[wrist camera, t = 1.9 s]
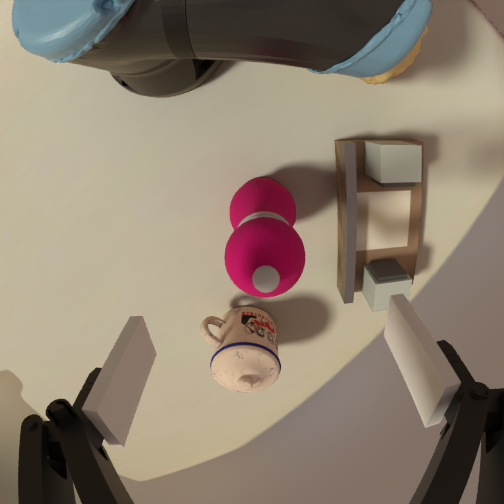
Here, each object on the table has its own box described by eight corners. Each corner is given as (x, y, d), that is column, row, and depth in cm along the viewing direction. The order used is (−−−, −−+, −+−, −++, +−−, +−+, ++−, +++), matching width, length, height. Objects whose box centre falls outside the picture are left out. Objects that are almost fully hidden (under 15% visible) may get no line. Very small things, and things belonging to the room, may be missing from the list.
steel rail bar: (338, 141, 32) (344, 143, 30) (348, 141, 32) (355, 142, 30) (340, 293, 40) (344, 303, 38) (348, 292, 40) (353, 302, 38)
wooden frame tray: (334, 140, 34) (339, 141, 32) (415, 140, 33) (423, 142, 31) (337, 286, 42) (340, 294, 40) (407, 277, 41) (412, 284, 40)
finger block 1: (364, 140, 32) (380, 144, 27) (401, 141, 32) (421, 145, 27) (365, 179, 34) (380, 188, 29) (402, 178, 33) (421, 187, 29)
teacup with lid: (290, 325, 45) (297, 383, 34) (251, 358, 48) (249, 415, 37) (226, 281, 42) (216, 335, 31) (190, 320, 45) (173, 375, 34)
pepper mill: (302, 191, 37) (345, 265, 18) (273, 239, 39) (285, 344, 21) (250, 162, 35) (241, 209, 17) (222, 213, 38) (191, 303, 20)
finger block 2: (363, 261, 38) (376, 280, 34) (397, 257, 38) (412, 275, 33) (361, 291, 40) (372, 312, 35) (394, 287, 40) (407, 306, 35)
